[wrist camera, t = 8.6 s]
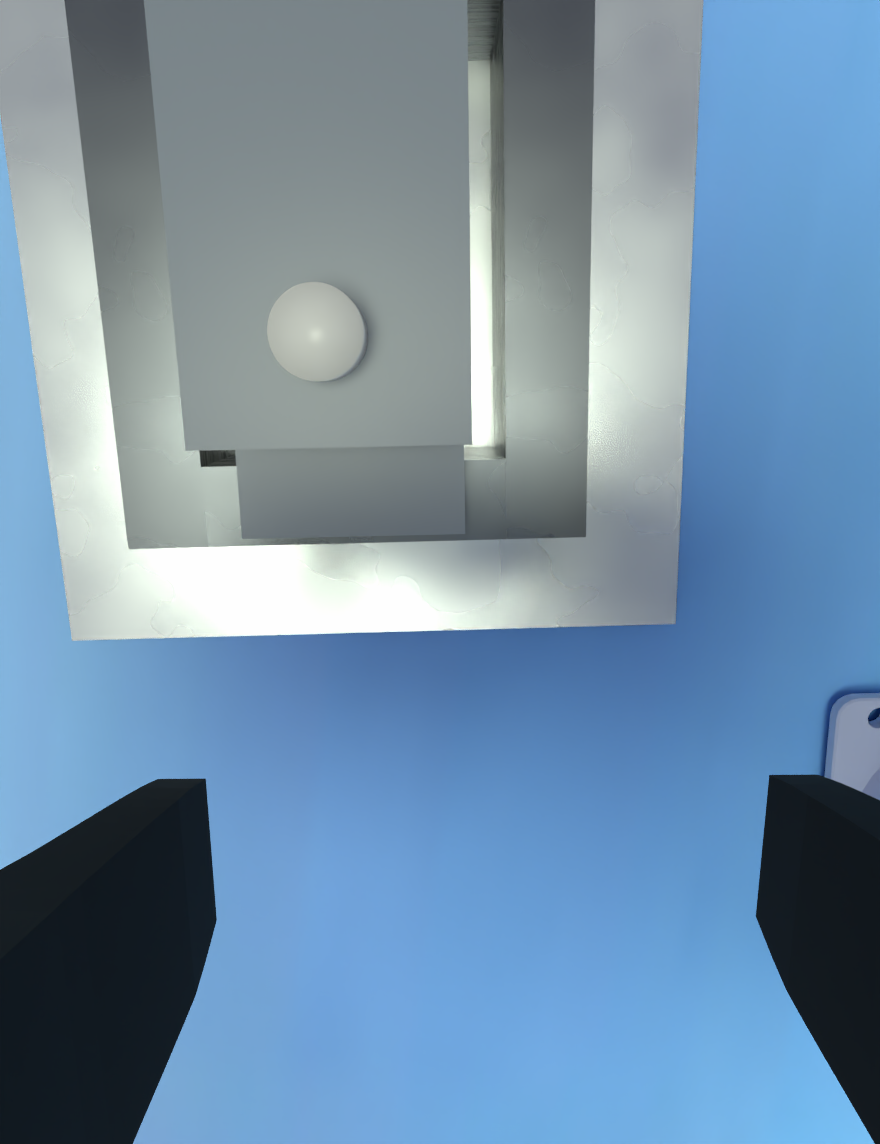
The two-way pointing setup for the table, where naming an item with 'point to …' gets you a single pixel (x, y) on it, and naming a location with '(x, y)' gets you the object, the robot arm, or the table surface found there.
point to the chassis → (498, 339)
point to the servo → (321, 254)
